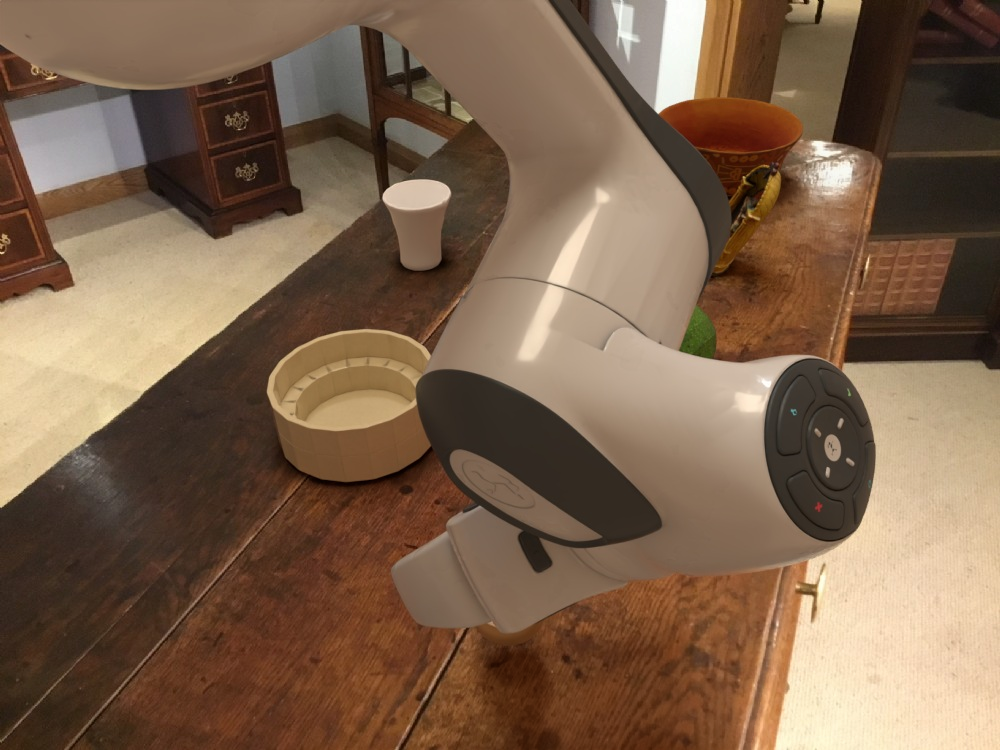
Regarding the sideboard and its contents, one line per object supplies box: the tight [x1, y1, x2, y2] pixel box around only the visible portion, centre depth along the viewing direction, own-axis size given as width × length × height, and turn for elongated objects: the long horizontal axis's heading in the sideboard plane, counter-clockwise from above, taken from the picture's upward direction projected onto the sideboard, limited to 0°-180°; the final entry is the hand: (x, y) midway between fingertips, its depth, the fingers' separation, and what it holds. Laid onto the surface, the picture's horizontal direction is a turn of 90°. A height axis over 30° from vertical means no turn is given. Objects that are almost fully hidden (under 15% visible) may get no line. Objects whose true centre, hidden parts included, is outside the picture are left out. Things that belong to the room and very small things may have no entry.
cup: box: [382, 179, 452, 272], centre depth 112 cm, size 9×9×10 cm
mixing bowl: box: [266, 328, 432, 483], centre depth 85 cm, size 16×16×7 cm
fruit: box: [679, 304, 717, 359], centre depth 87 cm, size 15×10×10 cm, turn 142°
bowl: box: [658, 96, 804, 198], centre depth 128 cm, size 21×21×10 cm
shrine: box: [711, 162, 782, 277], centre depth 107 cm, size 12×8×15 cm
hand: (499, 522), depth 58 cm, fingers closed
